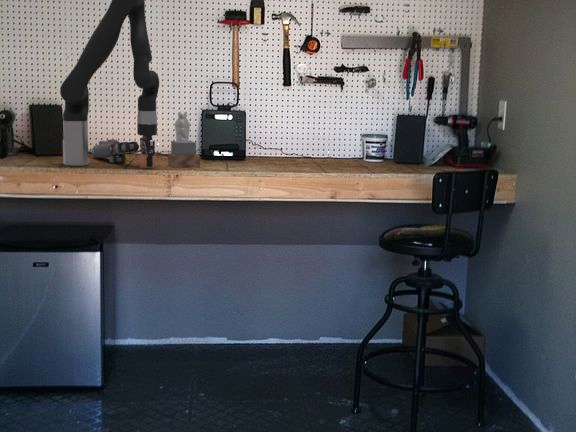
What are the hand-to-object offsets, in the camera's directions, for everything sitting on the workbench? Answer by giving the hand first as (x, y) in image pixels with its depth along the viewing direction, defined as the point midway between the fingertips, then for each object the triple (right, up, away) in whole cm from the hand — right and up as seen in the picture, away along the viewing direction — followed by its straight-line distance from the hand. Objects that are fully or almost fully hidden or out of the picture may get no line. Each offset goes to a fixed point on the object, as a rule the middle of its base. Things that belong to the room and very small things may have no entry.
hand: (147, 165), depth 297 cm
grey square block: (+13, +5, +6) cm, 15 cm away
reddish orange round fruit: (0, -1, 0) cm, 1 cm away
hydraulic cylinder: (-17, +2, +14) cm, 22 cm away
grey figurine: (+10, +4, +29) cm, 31 cm away
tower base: (+13, 0, +6) cm, 15 cm away
